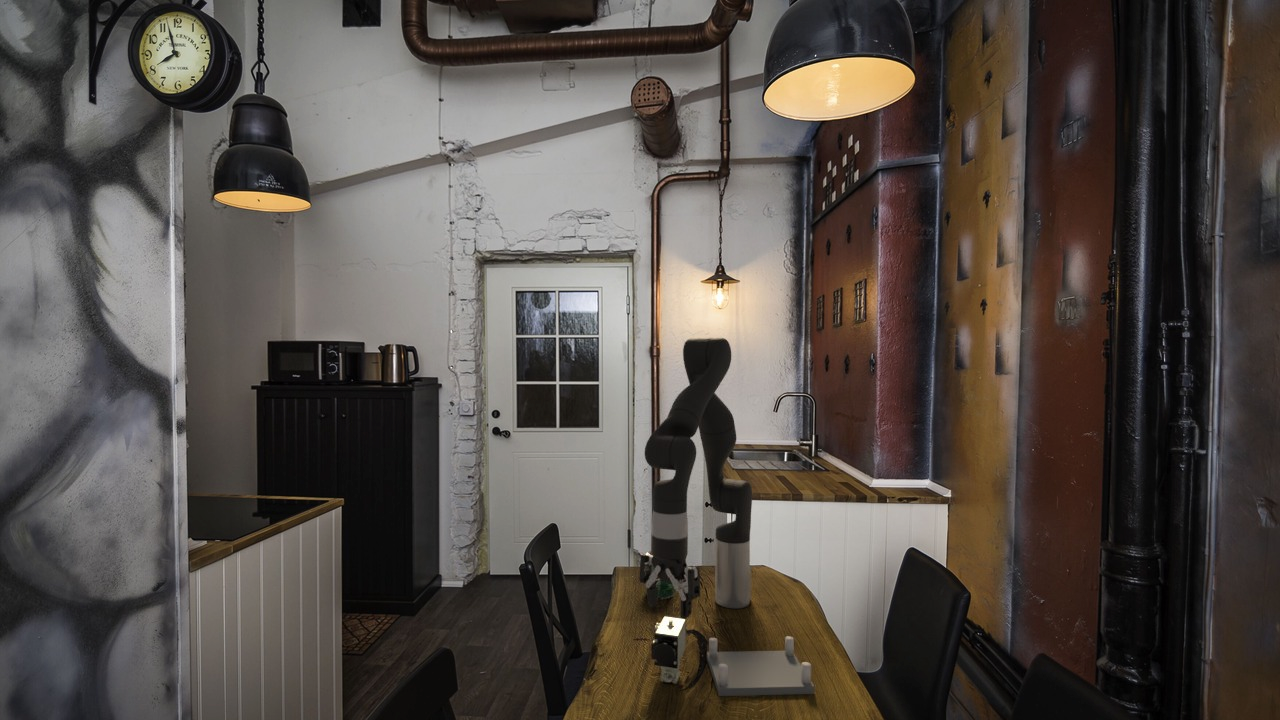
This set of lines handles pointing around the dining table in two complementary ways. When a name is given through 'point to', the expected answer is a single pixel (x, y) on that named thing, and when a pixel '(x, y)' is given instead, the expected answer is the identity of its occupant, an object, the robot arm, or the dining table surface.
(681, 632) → the pneumatic valve
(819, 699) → the dining table surface
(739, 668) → the peg board
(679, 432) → the robot arm
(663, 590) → the canned tomato
